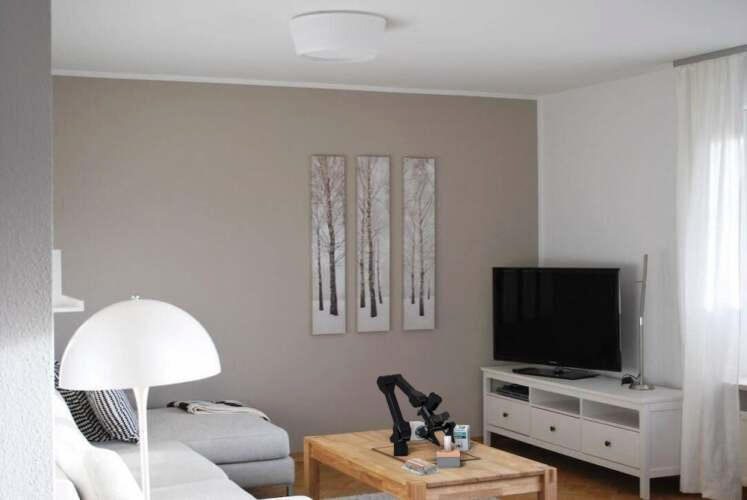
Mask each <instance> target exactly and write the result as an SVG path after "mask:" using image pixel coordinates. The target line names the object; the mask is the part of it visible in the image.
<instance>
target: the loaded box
mask: <svg viewBox="0 0 747 500" xmlns="http://www.w3.org/2000/svg"><path fill="white" fill-rule="evenodd" d="M460 457H461V456H460ZM460 457H437V456H436V465H437V466H436V469H460V468H461V458H460Z"/></svg>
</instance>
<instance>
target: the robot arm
mask: <svg viewBox="0 0 747 500" xmlns="http://www.w3.org/2000/svg"><path fill="white" fill-rule="evenodd" d="M376 384H377V387H378V389H379V391H380V392H381V393H382V394H383V395H384V397H385V400H386V403H387V407H388V409H389V413H390V415H391V418H392V422H393V424H392V434H391V435H390V437H389V442H390V443H392V444H393V457H402V456H403V457H405V456H406V457H407V456H408V454H409V444H408V443H407V442H411V441H410V438H411V434H412V431H411V430H412V429H411V427H410V423H409V422H410V421H406V420H405V419H404V416H403V413H402V411H401V408H400V404H399V402H398V398H397V395H396V391H395V390H396V386H397V388H398V389H399V390H400V391H401V392H403V394H404V395H405V396H406V397H407V399H408V403H409V404H410V405H411V407H412V408H414V409H417V408H420V409H417V413H416V416H418V417H419V416H420V417H422V419H423V421H424V424H425V426H424V427H423V428H422V430H421V431H420V432H419V435H420V437H421V438H424V439H423V440H425V441H428V442H430V443H432V444H434V445H435V446H437V447H440V446H441V443H440V441H439V440H438V438H437V436H436V434H435V433H437V432H442V433H444V436H451V444H452V445H453V444H454V445H455V439H454V428H455V427H456V425H457V424H456V423H455V421H452V420H451V421H448V420H449V419H450V418H451V415H450V413H449V412H448V411H446V410H445V411H443V412H442V413H438V414H436V413H435V411H437V409H438V408H439V406H440V405H441V404H442V403H443V398H442V397H441V396H440V395H439V394H437V393H435V392H434V391H433V392H430V393H429V394H428V396H427V395H426V394H425V393H423V392H422V391H420V390H416V389H415V387H413V385H412V384H411V383H409V382H408V381H407V379H405V377H403V375H402V373H393V374H385V375H379V376H377V379H376ZM446 421H447V422H446Z"/></svg>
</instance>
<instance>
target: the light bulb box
mask: <svg viewBox="0 0 747 500" xmlns="http://www.w3.org/2000/svg"><path fill="white" fill-rule="evenodd" d="M470 426H471V425H470V424H456V426H455V428H454V430H453V434H454V439H455V443H454V449H459V451H461V452H462V451H465V452H466V451H467V452H468V451H469V450H470V448H471V428H470Z"/></svg>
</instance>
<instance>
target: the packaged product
mask: <svg viewBox="0 0 747 500" xmlns="http://www.w3.org/2000/svg"><path fill="white" fill-rule="evenodd" d="M436 465H437V464H435V463H432V462H430V461H428V460H424V459H422V458H420V457H412V458H410V459H409V458H408V459H407V460H405V465H402V466H400V468H401V469H402V470H406V471H408V472H409V473H412V474H415V475H418V476H421V477H423V476H430V475H436V474H440V470H439V469H438V468H437V466H436Z"/></svg>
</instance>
